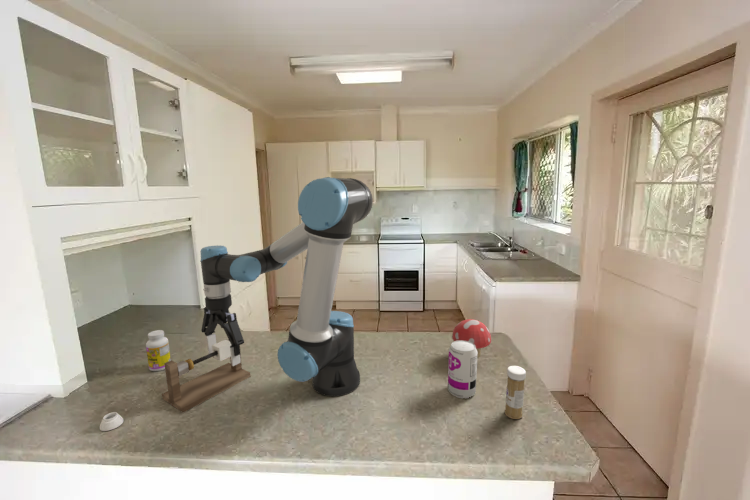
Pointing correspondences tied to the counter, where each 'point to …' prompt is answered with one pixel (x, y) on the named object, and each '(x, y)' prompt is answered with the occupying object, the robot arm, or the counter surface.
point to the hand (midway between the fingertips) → (224, 358)
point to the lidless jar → (111, 421)
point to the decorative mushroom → (472, 334)
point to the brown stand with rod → (199, 382)
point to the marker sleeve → (222, 350)
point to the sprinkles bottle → (515, 392)
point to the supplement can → (462, 369)
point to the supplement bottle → (157, 350)
